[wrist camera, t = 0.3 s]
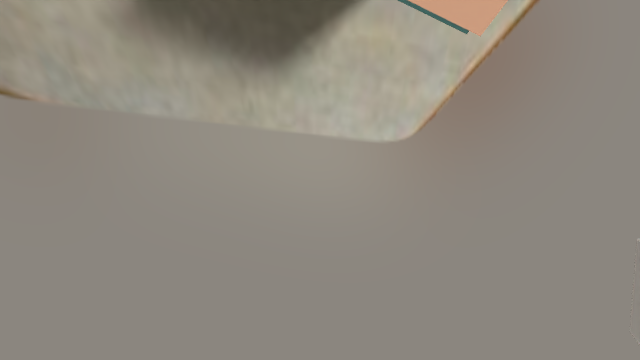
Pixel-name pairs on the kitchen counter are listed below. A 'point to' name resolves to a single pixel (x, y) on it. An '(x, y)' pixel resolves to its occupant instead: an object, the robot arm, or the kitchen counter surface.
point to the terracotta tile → (460, 12)
